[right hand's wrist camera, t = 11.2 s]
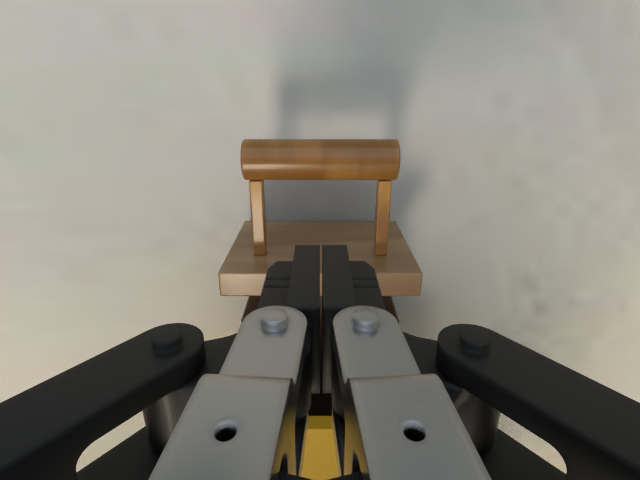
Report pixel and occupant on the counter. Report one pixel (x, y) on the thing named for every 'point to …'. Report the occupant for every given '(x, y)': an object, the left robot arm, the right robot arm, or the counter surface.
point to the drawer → (320, 222)
